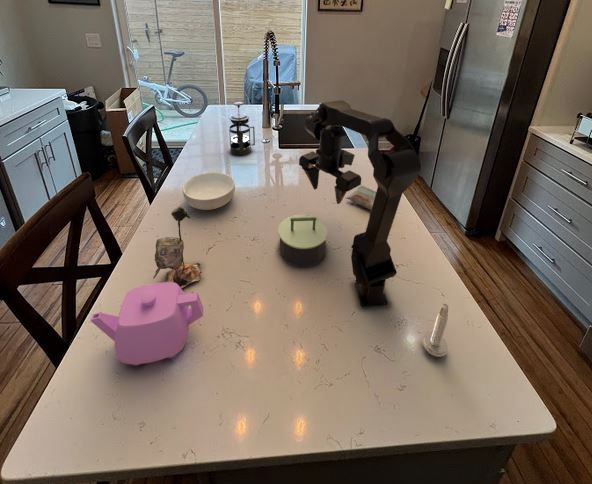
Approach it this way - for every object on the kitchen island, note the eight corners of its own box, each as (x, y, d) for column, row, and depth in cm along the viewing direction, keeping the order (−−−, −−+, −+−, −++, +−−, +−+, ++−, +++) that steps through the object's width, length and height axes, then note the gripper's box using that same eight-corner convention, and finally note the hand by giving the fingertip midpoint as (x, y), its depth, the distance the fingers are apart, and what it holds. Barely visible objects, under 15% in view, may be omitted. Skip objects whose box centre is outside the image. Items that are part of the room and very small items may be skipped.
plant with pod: (159, 267, 86) (148, 203, 78) (204, 263, 87) (197, 200, 79) (151, 293, 78) (137, 226, 71) (200, 289, 80) (191, 222, 72)
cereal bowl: (197, 224, 101) (195, 205, 99) (177, 199, 113) (174, 182, 110) (244, 204, 112) (244, 186, 109) (221, 183, 123) (220, 167, 121)
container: (328, 265, 88) (329, 246, 85) (280, 267, 87) (281, 248, 84) (320, 233, 99) (321, 216, 97) (279, 235, 98) (279, 217, 96)
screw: (426, 363, 65) (416, 339, 70) (450, 361, 65) (439, 338, 70) (439, 317, 60) (428, 294, 64) (465, 316, 60) (451, 293, 65)
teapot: (205, 305, 76) (200, 263, 71) (205, 359, 65) (199, 314, 60) (110, 322, 71) (98, 279, 66) (92, 384, 60) (76, 338, 55)
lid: (331, 249, 85) (333, 234, 83) (279, 252, 84) (279, 236, 82) (323, 216, 97) (324, 202, 95) (277, 218, 96) (277, 203, 94)
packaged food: (374, 217, 107) (376, 204, 105) (344, 202, 114) (345, 190, 112) (386, 205, 113) (388, 193, 111) (357, 192, 120) (358, 180, 118)
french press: (229, 157, 142) (226, 107, 133) (227, 148, 151) (224, 100, 142) (256, 154, 145) (255, 105, 136) (253, 145, 154) (251, 98, 145)
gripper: (377, 150, 86) (370, 200, 92) (326, 128, 99) (323, 173, 105) (349, 163, 79) (344, 216, 85) (298, 138, 92) (297, 185, 98)
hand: (326, 195), depth 94 cm, fingers open, 9 cm apart
